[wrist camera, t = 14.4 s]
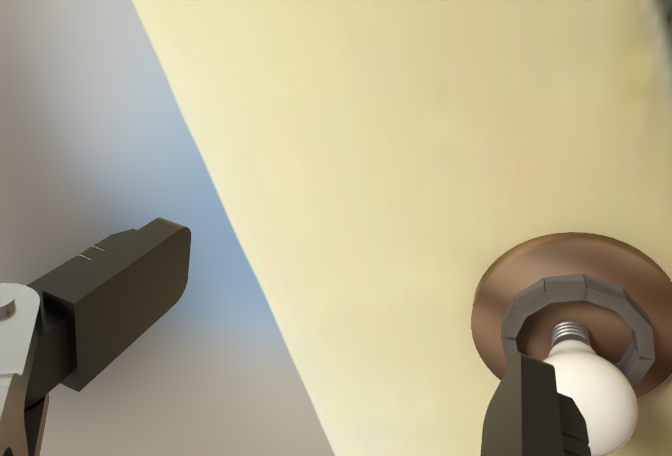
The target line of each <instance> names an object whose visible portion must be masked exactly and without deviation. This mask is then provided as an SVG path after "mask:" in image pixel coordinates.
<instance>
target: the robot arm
mask: <svg viewBox="0 0 672 456" xmlns="http://www.w3.org/2000/svg"><path fill="white" fill-rule="evenodd" d="M190 245H191V232H190V229H189V228H187V227H185V226H182V225H179V224H177V223H174V222H171V221H168V220H166V219H163V218H157V219H155V220H153V221H152V222H150V223H148V224H147V225H145V226H144V227H142V228H140V229H139V230H135V229H131V230H128V231H124V232H120V233H117V234H113V235H110V236H109V237H107V238H105V239H104V240H102V241H101V242H99V243H97V244H95V245H94V247H93V248H92V247H90V248H89V249H87V250H85V251H84V252H82V253H81V254H80V256H75V257H74V258H72V259H71V260H69V261H67V262H65V263H64V264H62V265H60V266H59V267H57V268H55V269H54V270H52V271H50V272H49V273H47V274H45V275H44V276H42V277H40V278H39V279H37V280H35V281H34V282H32V283H30V284H29V285H27V286H24V285H21V284H15V283H0V456H40V451H41V445H42V439H43V434H44V428H45V423H46V417H47V411H48V405H49V392H50V391H51V390H52V389H53V388H54V387H56V386H57V385H58V384H59V383H61V384H63V385H65V386H67V387H69V388H71V389H74V390H76V391H78V392H79V391H81V390H82V389H83V388H84V387H85V386H86V385H87V384H88V383H89V382H90V381H91V380H93V379H94V378H95V377H96V376H97V375H98V374H99V373H100V372H101V371H102V370H104V369H105V368H106V367H107V366H108V365H109V364H110V363H111V362H112V361H113V360H114V359H115V358H117V357H118V356H119V355H120V354H121V353H122V352H123V351H124V350H125V349H126V348H128V347H129V346H130V345H131V344H132V343H133V342H134V341H135V340H136V339H137V338H139V336H141V335H142V334H143V333H144V332H145V331H146V330H147V329H148V328H149V327H151V325H153V324H154V323H155V322H156V321H157V320H158V319H159V318H160V317H161V316H163V315H164V314H165V313H166V312H167V311H168V310H169V309H170V308H171V307H172V306H174V305H175V304H176V303H177V302H178V300H179V299H180V298H181V296H182V294H183V292H184V290H185V288H186V285H187V280H188V269H189V257H190ZM588 444H589V438H588V432H587V426H586V420H585V419H584V417H583V415H582V414H581V412H580V410H579V408H578V407H577V405H576V403H575V402H574V400H573V398H571V397H568V396H566V395H563V394H561V393H558V392H557V385H556V375H555V368H554V366H553V365H551V364H549V363H546V362H543V361H541V360H538V359H535V358H533V357H530V356H527V355H525V354H522V353H519V352H518V353H516V354H515V355H514V357H513V359H512V360H511V362H510V364H509V366H508V368H507V370H506V372H505V374H504V376H503V378H502V380H501V382H500V384H499V386H498V388H497V389H496V391H495V393H494V395H493V397H492V399H491V401H490V404H489V406H488V409H487V412H486V415H485V419H484V424H483V432H482V445H481V456H591V450H590V447H589V446H588Z"/></svg>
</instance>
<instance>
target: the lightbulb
mask: <svg viewBox="0 0 672 456" xmlns="http://www.w3.org/2000/svg"><path fill="white" fill-rule="evenodd" d="M550 342H551V351H550V353H549V355H548V357H547V358H546V359H544V360H543V362H546V363H549V364H551V365H553V366H554V368H555V375H556V385H557V392H558V393H561V394H563V395H566V396H568V397H571V398H573V400H574V402H575V403H576V405H577V407H578V408H579V410H580V412H581V414H582V415H583V417H584V419H585V420H586V426H587V432H588V438H589V444H588V446H589V447H590V450H591V456H606V455H609V454H611V453H613V452H615V451H617V450H619V449H620V448H621V447H623V446H624V445H625V444H626V443H627V442H628V440H629V439H630V438H631V436H632V435H633V433H634V430H635V428H636V425H637V421H638V403H637V398H636V395H635V392H634V390H633V388H632V386H631V384H630V382H629V381H628V379H627V378H626V377H625V375H624V374H623V373H622V372H621V371H620V370H619V369H618V368H617V367H616V366H615V365H613V364H612V363H611V362H609V361H608V360H606V359H604V358H602V357H600V356H598V355H597V353H596V352H595V351H594V350H593V349H592V348H591V343H590V339H589V334H588V331H587V329H586V328H585V327H584V326H583V325H582V324H580V323H578V322H575V321H562V322H559V323H557V324H555V325H554V326H553V327H552V329H551V331H550Z"/></svg>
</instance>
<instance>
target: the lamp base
mask: <svg viewBox="0 0 672 456" xmlns="http://www.w3.org/2000/svg"><path fill="white" fill-rule="evenodd" d="M562 321H575V322H578V323H580V324H582V325H583V326H584V327H585V328H586V329H587V331H588V334H589V339H590V343H591V348H592V349H593V350H594V351H595V352H596V353H597V355H598V356H600V357H602V358H604V359H606V360H608V361H609V362H611V363H612V364H613V365H615V366H616V367H617V368H618V369H619V370H620V371H621V372H622V373H623V374H624V375H625V377H626V378H627V379H628V381H629V382H630V384H631V386H632V388H633V390H634V392H635V395H636V398H638V397H640V396H642V395H644V394H646V393H648V392H649V391H651V390H652V389H654V388H655V387H657V386H658V385H659V384H661V383H662V382H663V381H664V380H665V379H666V378H667V377H668V376H669V375H670V374H671V373H672V283H671V281H670V279H669V278H668V276H667V275H666V274H665V272H664V271H663V270H662V269H661V267H660V266H659V265H658V264H656V263H655V262H654V261H653V260H652V259H651V258H650V257H648V256H647V255H646V254H644V253H643V252H641V251H640V250H638V249H636V248H634V247H632V246H631V245H629V244H627V243H624V242H621V241H619V240H616V239H614V238H610V237H606V236H602V235H597V234H590V233H575V232H569V233H556V234H551V235H545V236H541V237H538V238H534V239H531V240H528V241H526V242H524V243H522V244H519V245H517V246H515V247H514V248H512V249H510V250H509V251H507V252H506V253H504V254H503V255H502V256H501V257H499V258H498V259H497V260H496V261H495V262H494V263H493V264H492V265H491V266H490V267H489V268H488V270H487V271H486V272H485V274H484V275H483V277H482V279H481V281H480V282H479V284H478V287H477V290H476V293H475V297H474V303H473V310H472V317H471V329H472V335H473V340H474V343H475V346H476V349H477V351H478V353H479V355H480V357H481V358H482V360H483V361H484V363H485V364H486V366H487V367H488V368H489V369H490V370H491V372H492V373H493V374H494V375H495V376H496V377H498V378H499V379H500V380H502V378H503V376H504V374H505V372H506V370H507V368H508V366H509V364H510V362H511V360H512V359H513V357H514V355H515V354H516V353H518V352H519V353H522V354H525V355H527V356H530V357H533V358H535V359H538V360H541V361H543V360H544V359H546V358H547V357H548V355H549V353H550V351H551V342H550V331H551V329H552V327H553V326H554V325H555V324H557V323H559V322H562Z"/></svg>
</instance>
